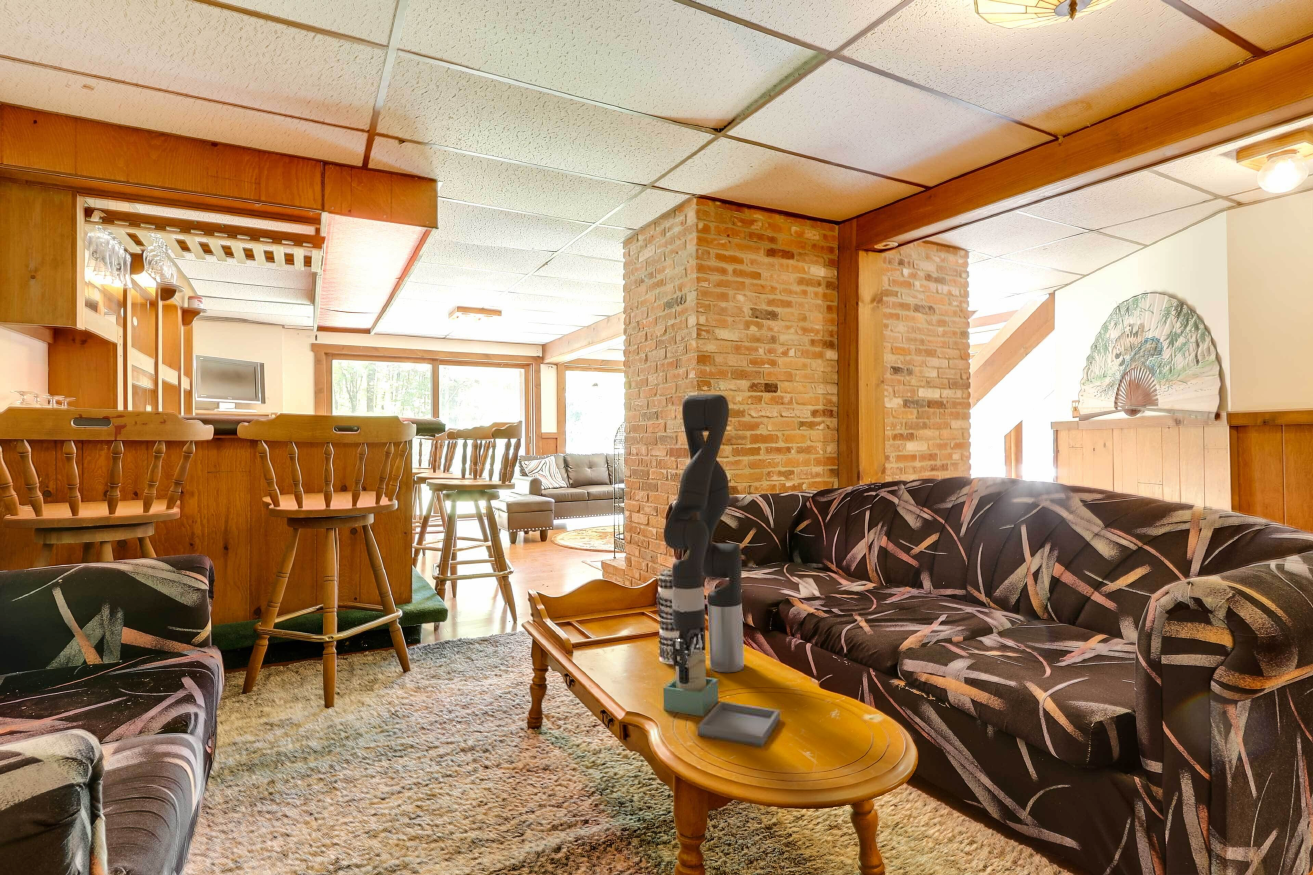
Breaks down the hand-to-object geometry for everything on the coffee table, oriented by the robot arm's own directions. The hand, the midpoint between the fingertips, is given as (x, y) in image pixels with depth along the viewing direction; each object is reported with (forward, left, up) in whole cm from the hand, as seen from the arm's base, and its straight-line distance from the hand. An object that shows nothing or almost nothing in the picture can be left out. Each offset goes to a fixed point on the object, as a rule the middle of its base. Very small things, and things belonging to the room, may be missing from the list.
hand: (690, 677), depth 145 cm
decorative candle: (-28, -17, -7) cm, 33 cm away
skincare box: (0, 0, -7) cm, 7 cm away
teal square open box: (0, 0, -6) cm, 6 cm away
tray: (+7, +14, -6) cm, 17 cm away
